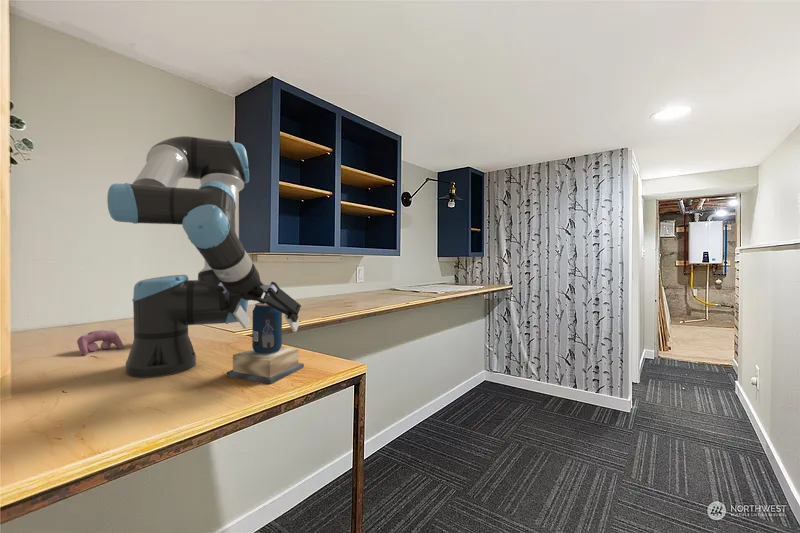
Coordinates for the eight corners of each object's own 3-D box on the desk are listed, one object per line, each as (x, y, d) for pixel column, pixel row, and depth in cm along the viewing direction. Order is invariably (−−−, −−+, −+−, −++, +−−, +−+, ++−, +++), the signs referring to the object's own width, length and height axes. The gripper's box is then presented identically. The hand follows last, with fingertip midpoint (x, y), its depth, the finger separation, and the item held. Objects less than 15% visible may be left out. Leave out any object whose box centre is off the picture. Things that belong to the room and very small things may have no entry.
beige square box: (226, 376, 90) (226, 354, 90) (263, 361, 103) (263, 342, 102) (270, 384, 86) (270, 361, 86) (303, 367, 98) (304, 347, 98)
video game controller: (119, 351, 114) (114, 329, 115) (124, 347, 111) (119, 325, 113) (77, 359, 105) (73, 335, 107) (82, 355, 103) (78, 330, 104)
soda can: (270, 346, 99) (270, 300, 98) (287, 350, 95) (287, 303, 94) (246, 351, 93) (246, 303, 92) (263, 357, 89) (263, 306, 88)
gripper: (175, 281, 80) (221, 335, 96) (284, 286, 76) (313, 341, 91) (193, 256, 85) (233, 311, 101) (296, 259, 81) (321, 316, 96)
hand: (271, 325), depth 96 cm, fingers open, 13 cm apart
